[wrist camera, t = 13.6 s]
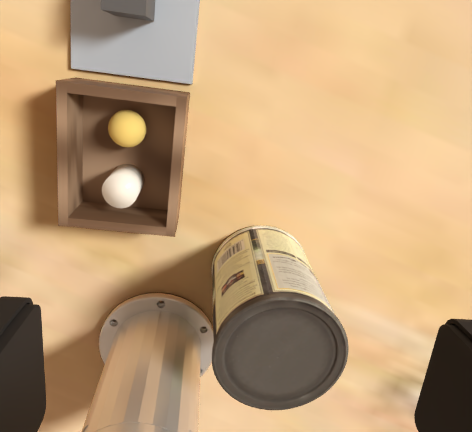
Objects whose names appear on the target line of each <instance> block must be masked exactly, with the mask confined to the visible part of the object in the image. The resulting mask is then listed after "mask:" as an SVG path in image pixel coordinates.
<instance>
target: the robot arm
mask: <svg viewBox="0 0 472 432" xmlns="http://www.w3.org/2000/svg"><path fill="white" fill-rule="evenodd" d="M213 343H214V339H213V328H212V325H211V323H210V321H209V319H208V318H207V316H206V315H205V314H204V313H203V312H202V311H201V310H200V309H199V308H198V307H197V306H195V305H194V304H193V303H191V302H189V301H187V300H185V299H183V298H181V297H178V296H174V295H171V294H163V293H148V294H143V295H138V296H135V297H133V298H130V299H128V300H126V301H124V302H123V303H121V304H119V305H118V306H117V307H116V308H115V309H114V310H113V311H112V312H111V313H110V314H109V316H108V317H107V318H106V320H105V322H104V324H103V327H102V329H101V332H100V336H99V351H100V355H101V358H102V360H103V362H104V368H103V371H102V374H101V377H100V380H99V383H98V385H97V388H96V391H95V394H94V397H93V400H92V403H91V406H90V409H89V411H88V414H87V417H86V420H85V423H84V426H83V429H82V432H198V420H199V391H200V377H201V376H202V375H203V374H204V373H205V372H206V370H207V369H208V368H209V366H210V364H211V362H212V347H213ZM45 409H46V392H45V374H44V356H43V339H42V321H41V308H40V306H39V305H33V302H32V300H31V299H30V298H24V297H1V298H0V432H37V431H38V429H39V427H40V425H41V422H42V420H43V417H44V414H45ZM415 424H416V427H417V429H418V431H419V432H472V320H465V319H450V320H448V321H447V322H446V323H445V325H442V326H441V327H440V328H439V330H438V334H437V337H436V341H435V344H434V348H433V351H432V355H431V358H430V362H429V365H428V369H427V372H426V375H425V379H424V382H423V386H422V389H421V393H420V396H419V400H418V403H417V407H416V410H415Z"/></svg>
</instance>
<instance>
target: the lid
mask: <svg viewBox="0 0 472 432" xmlns="http://www.w3.org/2000/svg"><path fill="white" fill-rule="evenodd" d="M199 4H200V0H71V68H72V69H80V70H87V71H95V72H103V73H110V74H118V75H125V76H133V77H141V78H148V79H156V80H164V81H171V82H179V83H187V84H192V82H193V71H194V60H195V49H196V37H197V26H198V15H199Z"/></svg>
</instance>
